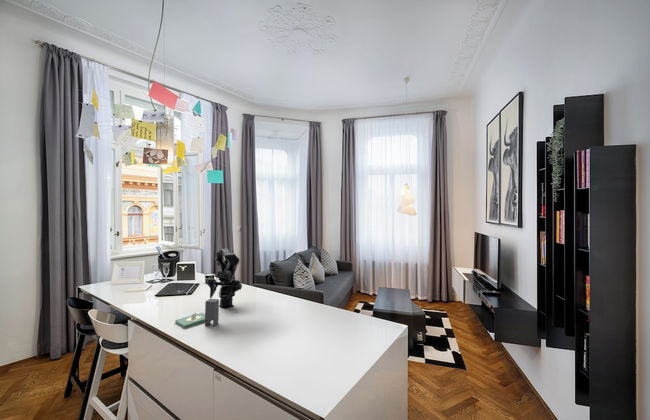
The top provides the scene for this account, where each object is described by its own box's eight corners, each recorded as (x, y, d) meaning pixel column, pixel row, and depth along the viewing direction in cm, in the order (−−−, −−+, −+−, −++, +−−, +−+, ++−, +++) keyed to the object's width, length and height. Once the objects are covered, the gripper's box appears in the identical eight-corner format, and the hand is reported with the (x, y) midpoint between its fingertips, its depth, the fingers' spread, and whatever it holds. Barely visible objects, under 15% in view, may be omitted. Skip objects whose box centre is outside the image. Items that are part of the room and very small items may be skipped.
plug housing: (209, 322, 137) (210, 298, 138) (218, 323, 137) (218, 299, 137) (204, 325, 133) (205, 301, 134) (214, 326, 133) (214, 301, 133)
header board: (201, 315, 147) (202, 308, 147) (211, 319, 141) (211, 312, 141) (175, 323, 136) (175, 315, 136) (184, 328, 130) (184, 320, 130)
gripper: (208, 264, 148) (196, 289, 136) (240, 265, 145) (230, 291, 134) (215, 275, 155) (204, 300, 144) (246, 276, 153) (236, 302, 142)
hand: (218, 298), depth 141 cm, fingers open, 9 cm apart
